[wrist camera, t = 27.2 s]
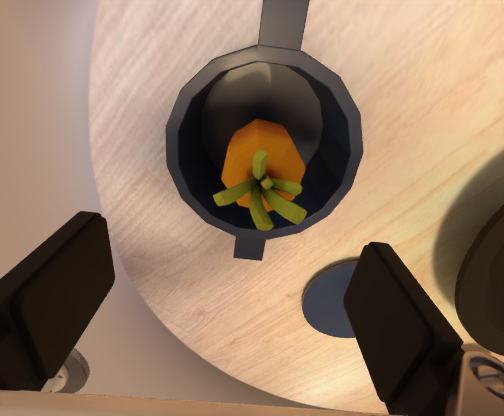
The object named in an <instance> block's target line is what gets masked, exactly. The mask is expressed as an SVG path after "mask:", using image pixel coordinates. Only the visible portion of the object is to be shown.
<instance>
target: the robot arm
mask: <svg viewBox="0 0 504 416" xmlns="http://www.w3.org/2000/svg"><path fill="white" fill-rule="evenodd" d="M114 280H115V273H114V267H113V260H112V254H111V247H110V240H109V234H108V228H107V221H106V219H105V218H103V217H102V216H101V214H99V213H95V212H85V211H80V212H79V213H77V214H76V215H75V216H74V217H73V218H71V219H70V220H69V221H68V222H67V223H65V225H63V226H62V227H61V228H60V229H59V230H57V231H56V232H55V233H54V234H53V235H52V236H50V237H49V238H48V239H47V240H46V241H45V242H43V243H42V244H41V245H40V246H39V247H38V248H36V249H35V250H34V251H33V252H32V253H30V254H29V255H28V256H27V257H26V258H24V259H23V260H22V261H21V262H20V263H19V264H17V265H16V266H15V267H14V268H13V269H12V270H10V271H9V272H8V273H7V274H6V275H5V276H3V277H2V278H1V279H0V416H400V415H403V416H407V415H408V416H504V363H503V362H501V361H500V360H498V359H497V358H495V357H493V356H491V355H488V354H486V353H483V352H479V351H468V352H467V353H465V352H464V351H463V349H462V348H461V345H462V344H463V343H464V342H463V341H462V339H461V338H460V337H459V335H458V334H457V333H456V331H455V330H454V329H453V327H452V326H451V325H450V323H449V322H448V321H447V320H446V318H445V317H444V316H443V314H442V313H441V312H440V310H439V309H438V308H437V306H436V305H435V304H434V303H433V301H432V300H431V299H430V297H429V296H428V295H427V293H426V292H425V291H424V289H423V288H422V287H421V285H420V284H419V283H418V282H417V280H416V279H415V278H414V276H413V275H412V274H411V272H410V271H409V270H408V268H407V267H406V266H405V265H404V263H403V262H402V261H401V259H400V258H399V257H398V255H397V254H396V253H395V251H394V250H393V249H392V247H391V246H390V245H389V244H387V243H380V242H370V243H369V244H368V245H365V246H364V248H363V250H362V252H361V255H360V257H359V260H358V262H357V265H356V267H355V270H354V272H353V275H352V277H351V280H350V282H349V285H348V287H347V290H346V293H345V295H344V298H343V304H344V308H345V311H346V313H347V316H348V319H349V321H350V324H351V326H352V329H353V332H354V334H355V337H356V340H357V342H358V345H359V347H360V350H361V353H362V355H363V358H364V361H365V363H366V366H367V368H368V371H369V374H370V376H371V379H372V382H373V384H374V387H375V389H376V392H377V395H378V397H379V399H380V400H381V401H382V402H385V405H386V407H387V410H388V412H389V414H377V413H363V412H349V411H335V410H321V409H307V408H293V407H278V406H264V405H248V404H233V403H218V402H201V401H188V400H172V399H156V398H138V397H122V396H106V395H90V394H89V395H88V394H73V393H54V392H56V391H59V390H60V389H62V388H63V387H64V386H65V384H66V382H67V380H68V378H69V374H68V370H67V369H66V367H65V366H64V362H65V361H66V359H67V358H68V356H69V354H70V353H71V351H72V350H73V348H74V346H75V345H76V343H77V341H78V340H79V338H80V337H81V335H82V334H83V332H84V331H85V329H86V327H87V326H88V324H89V322H90V321H91V319H92V318H93V316H94V315H95V313H96V311H97V310H98V308H99V306H100V305H101V303H102V302H103V300H104V298H105V297H106V296H107V294H108V292H109V291H110V289H111V288H112V286H113V284H114Z"/></svg>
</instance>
